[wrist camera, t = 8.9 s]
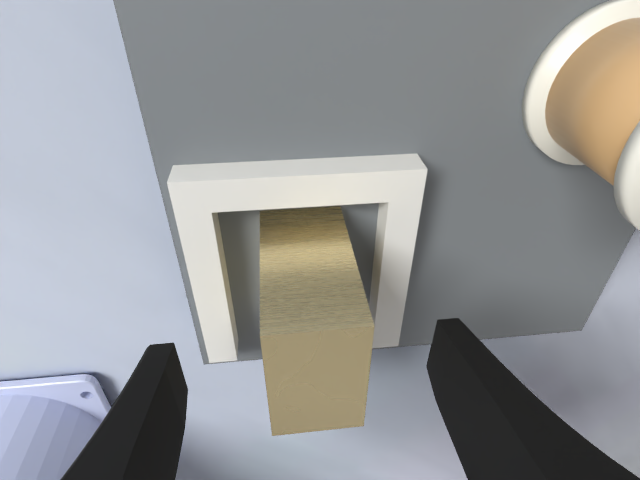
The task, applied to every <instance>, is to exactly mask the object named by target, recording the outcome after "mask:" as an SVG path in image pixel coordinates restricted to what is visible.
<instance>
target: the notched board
mask: <svg viewBox="0 0 640 480" xmlns="http://www.w3.org/2000/svg"><path fill="white" fill-rule="evenodd" d="M113 1H114V5H115V9H116V13H117V17H118V21H119V25H120V29H121V33H122V37H123V41H124V45H125V49H126V53H127V57H128V61H129V65H130V70H131V74H132V78H133V82H134V86H135V90H136V94H137V98H138V102H139V106H140V110H141V114H142V118H143V122H144V126H145V130H146V134H147V138H148V142H149V146H150V150H151V154H152V158H153V162H154V166H155V170H156V174H157V178H158V182H159V186H160V190H161V194H162V198H163V202H164V206H165V210H166V214H167V218H168V222H169V226H170V230H171V234H172V238H173V242H174V246H175V250H176V254H177V258H178V262H179V266H180V270H181V274H182V278H183V282H184V286H185V290H186V295H187V299H188V303H189V307H190V311H191V315H192V319H193V323H194V327H195V331H196V335H197V339H198V343H199V347H200V351H201V355H202V359H203V363H204V364H214V363H225V362H236V361H247V360H258V359H263V357H262V349H261V341H260V211H266V210H282V209H299V208H315V207H331V206H340V207H341V210H342V214H343V217H344V221H345V224H346V228H347V231H348V235H349V238H350V242H351V245H352V249H353V252H354V256H355V259H356V263H357V266H358V270H359V273H360V277H361V280H362V284H363V287H364V291H365V295H366V298H367V302H368V305H369V309H370V312H371V316H372V319H373V323H374V335H373V344H372V349H381V348H392V347H403V346H414V345H425V344H432V340H433V336H434V332H435V327H436V323H437V320H439V319H450V318H459V319H460V320H461V321H462V322H463V323H464V324H465V325H466V326H467V327H468V328H469V329H470V330H471V331H472V333H473V334H474V335H475V336H476V337H477V338H478V339H479V340H481V339H492V338H503V337H514V336H525V335H536V334H547V333H559V332H570V331H581V330H582V329H583V327H584V325H585V323H586V321H587V319H588V317H589V315H590V313H591V312H592V310H593V308H594V306H595V304H596V302H597V300H598V298H599V296H600V295H601V293H602V291H603V289H604V287H605V285H606V283H607V281H608V280H609V278H610V276H611V274H612V272H613V270H614V268H615V266H616V264H617V263H618V261H619V259H620V257H621V255H622V253H623V251H624V249H625V248H626V246H627V244H628V242H629V240H630V238H631V236H632V234H633V232H634V231H635V229H636V227H634V226H633V225H632V224H631V223H629V222H628V221H627V220H626V219H625V218H624V217H623V216H622V214H621V213H620V211H619V209H618V207H617V205H616V202H615V198H614V187H613V185H611V184H610V183H609V182H607V181H606V180H605V179H603V178H602V177H601V176H599V175H598V174H597V173H595V172H594V171H593V170H591V169H590V168H589V167H587V166H586V165H570V164H564V163H561V162H558V161H556V160H554V159H552V158H550V157H549V156H547V155H546V154H545V153H544V152H542V151H541V150H540V149H539V148H537V147H536V146H535V145H534V144H533V143H532V141H531V140H530V139H529V137H528V135H527V133H526V131H525V128H524V125H523V120H522V100H523V95H524V90H525V87H526V84H527V81H528V78H529V76H530V73H531V71H532V69H533V67H534V65H535V63H536V62H537V60H538V58H539V57H540V55H541V54H542V52H543V51H544V50H545V48H546V47H547V45H548V44H549V43H550V42H551V41H552V40H553V38H554V37H555V36H556V35H557V34H558V33H559V32H560V31H561V30H562V29H563V28H564V27H565V26H566V25H568V24H569V23H570V22H572V21H573V20H574V19H575V18H577V17H578V16H580V15H581V14H583V13H584V12H586V11H587V10H589V9H591V8H593V7H595V6H597V5H599V4H601V3H604V2H607V1H609V0H113Z"/></svg>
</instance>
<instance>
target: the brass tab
mask: <svg viewBox="0 0 640 480" xmlns="http://www.w3.org/2000/svg"><path fill="white" fill-rule="evenodd" d="M373 335H374V323H373V319H372V316H371V312H370V309H369V305H368V302H367V298H366V295H365V291H364V287H363V284H362V280H361V277H360V273H359V270H358V266H357V263H356V259H355V256H354V252H353V249H352V245H351V242H350V238H349V235H348V231H347V228H346V224H345V221H344V217H343V214H342V210H341V207H340V206H331V207H315V208H299V209H282V210H266V211H260V341H261V349H262V357H263V365H264V373H265V381H266V390H267V398H268V406H269V414H270V422H271V430H272V436H276V435H285V434H294V433H304V432H313V431H322V430H331V429H341V428H350V427H359V426H364V418H365V409H366V400H367V390H368V381H369V372H370V363H371V353H372V344H373Z"/></svg>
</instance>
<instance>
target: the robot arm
mask: <svg viewBox="0 0 640 480" xmlns="http://www.w3.org/2000/svg"><path fill="white" fill-rule="evenodd" d="M427 370H428V374H429V378H430V381H431V385H432V389H433V392H434V396H435V399H436V402H437V405H438V407H439V410H440V412H441V415H442V417H443V420H444V422H445V425H446V427H447V430H448V432H449V434H450V437H451V439H452V442H453V444H454V447H455V449H456V452H457V454H458V456H459V459H460V461H461V464H462V466H463V469H464V471H465V474H466V476H467V478H468V480H640V478H638V477H637V476H636V475H634V474H633V473H631V472H630V471H628V470H627V469H626V468H624V467H623V466H621V465H620V464H618V463H617V462H616V461H614V460H613V459H611V458H610V457H609V456H607V455H606V454H605V453H603V452H602V451H601V450H599V449H598V448H597V447H595V446H594V445H593V444H591V443H590V442H589V441H588V440H586V439H585V438H584V437H583V436H581V435H580V434H579V433H578V432H576V431H575V430H574V429H573V428H571V427H570V426H569V425H568V424H567V423H565V422H564V421H563V420H562V419H561V418H560V417H558V416H557V415H556V414H555V413H554V412H553V411H551V410H550V409H549V408H548V407H547V406H546V405H545V404H544V403H543V402H541V401H540V400H539V399H538V398H537V397H536V396H535V395H534V394H533V393H532V392H531V391H530V390H528V389H527V388H526V387H525V386H524V385H523V384H522V383H521V382H520V381H519V380H518V379H517V378H516V377H515V376H514V375H513V374H512V373H511V372H510V371H509V370H508V369H507V368H506V367H505V366H504V365H503V364H502V363H501V362H500V361H499V360H498V359H497V358H496V357H495V356H494V355H493V354H492V353H491V352H490V351H489V350H488V349H487V347H486V346H485V345H484V344H483V343H482V342H481V341H480V340H479V339H478V338H477V337H476V336H475V335H474V334H473V333H472V331H471V330H470V329H469V328H468V327H467V326H466V325H465V324H464V323H463V322H462V321H461V320H460V319H459V318H450V319H439V320H437V323H436V327H435V332H434V336H433V340H432V345H431V349H430V353H429V358H428V362H427ZM187 394H188V388H187V385H186V382H185V378H184V375H183V372H182V368H181V365H180V362H179V358H178V355H177V351H176V348H175V345H174V343H165V344H154V345H150V346H149V347H147V349H146V351H145V352H144V354H143V356H142V358H141V360H140V361H139V363H138V365H137V367H136V368H135V370H134V372H133V373H132V375H131V377H130V379H129V380H128V382H127V383H126V385H125V387H124V388H123V390H122V392H121V393H120V395H119V397H118V398H117V400H116V401H115V403H114V404H113V406H112V407H111V406H110V404H109V402H108V400H107V398H106V396H105V394H104V392H103V390H102V388H101V386H100V384H99V382H98V380H97V379H96V378H95V377H94V376H92V375H88V374H79V375H68V376H56V377H45V378H34V379H23V380H12V381H1V382H0V480H175V477H176V472H177V467H178V462H179V456H180V451H181V446H182V441H183V435H184V430H185V420H186V409H187Z"/></svg>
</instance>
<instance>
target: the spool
mask: <svg viewBox="0 0 640 480" xmlns="http://www.w3.org/2000/svg"><path fill="white" fill-rule="evenodd" d="M522 120H523V125H524V128H525V131H526V133H527V135H528V137H529V139H530V140H531V141H532V143H533V144H534V145H535V146H536V147H537V148H539V149H540V150H541V151H542V152H544V153H545V154H546V155H547V156H549V157H550V158H552V159H554V160H556V161H558V162H561V163H564V164H570V165H586V166H587V167H589V168H590V169H591V170H593V171H594V172H595V173H597V174H598V175H599V176H601V177H602V178H603V179H605V180H606V181H607V182H609V183H610V184H611V185H613V187H614V198H615V202H616V205H617V207H618V209H619V211H620V213H621V214H622V216H623V217H624V218H625V219H626V220H627V221H628V222H629V223H631V224H632V225H633V226H634V227H636V228H637V229H638V230H639V231H640V0H609V1H607V2H604V3H601V4H599V5H597V6H595V7H593V8H591V9H589V10H587V11H586V12H584V13H583V14H581V15H580V16H578V17H577V18H575V19H574V20H573V21H572V22H570V23H569V24H568V25H566V26H565V27H564V28H563V29H562V30H561V31H560V32H559V33H558V34H557V35H556V36H555V37H554V38H553V40H552V41H551V42H550V43H549V44H548V45H547V47H546V48H545V50H544V51H543V52H542V54H541V55H540V57H539V58H538V60H537V62H536V63H535V65H534V67H533V69H532V71H531V73H530V76H529V78H528V81H527V84H526V87H525V90H524V95H523V100H522Z"/></svg>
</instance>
